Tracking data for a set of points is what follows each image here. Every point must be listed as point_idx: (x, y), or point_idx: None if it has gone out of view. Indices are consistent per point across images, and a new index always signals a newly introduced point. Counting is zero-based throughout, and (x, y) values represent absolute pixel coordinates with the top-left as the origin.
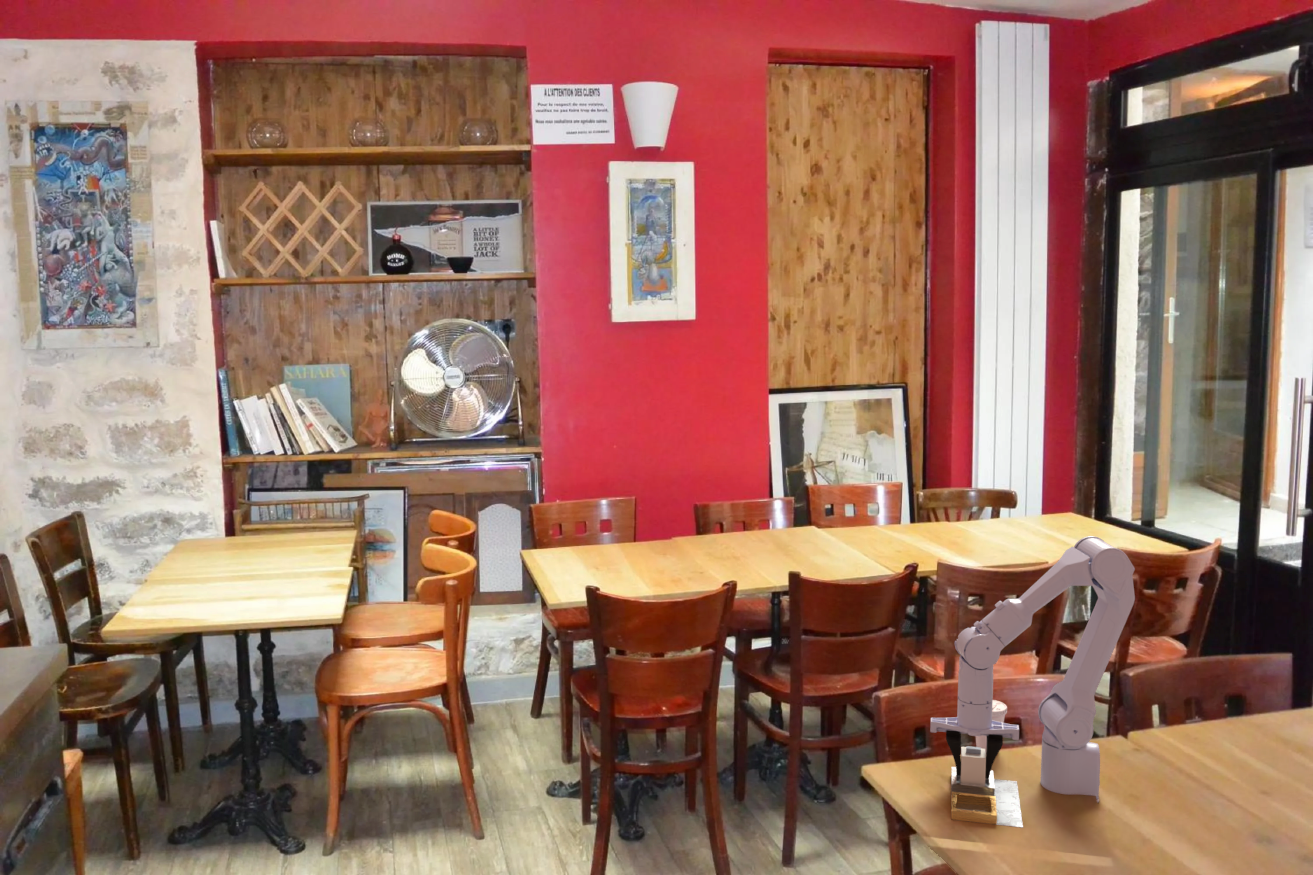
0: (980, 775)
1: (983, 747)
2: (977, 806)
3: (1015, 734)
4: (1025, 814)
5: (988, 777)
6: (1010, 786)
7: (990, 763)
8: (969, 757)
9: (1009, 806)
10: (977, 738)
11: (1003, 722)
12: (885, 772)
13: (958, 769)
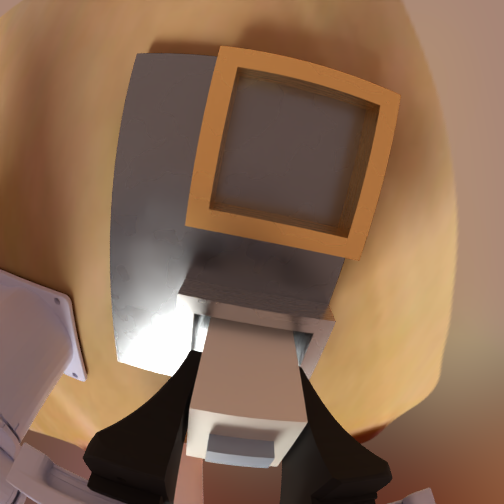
0: (222, 351)
1: (189, 462)
2: (264, 198)
3: (25, 468)
4: (108, 190)
5: (191, 351)
6: (132, 338)
7: (172, 387)
8: (270, 415)
9: (144, 205)
10: (199, 479)
11: None
12: (417, 389)
13: (303, 380)
